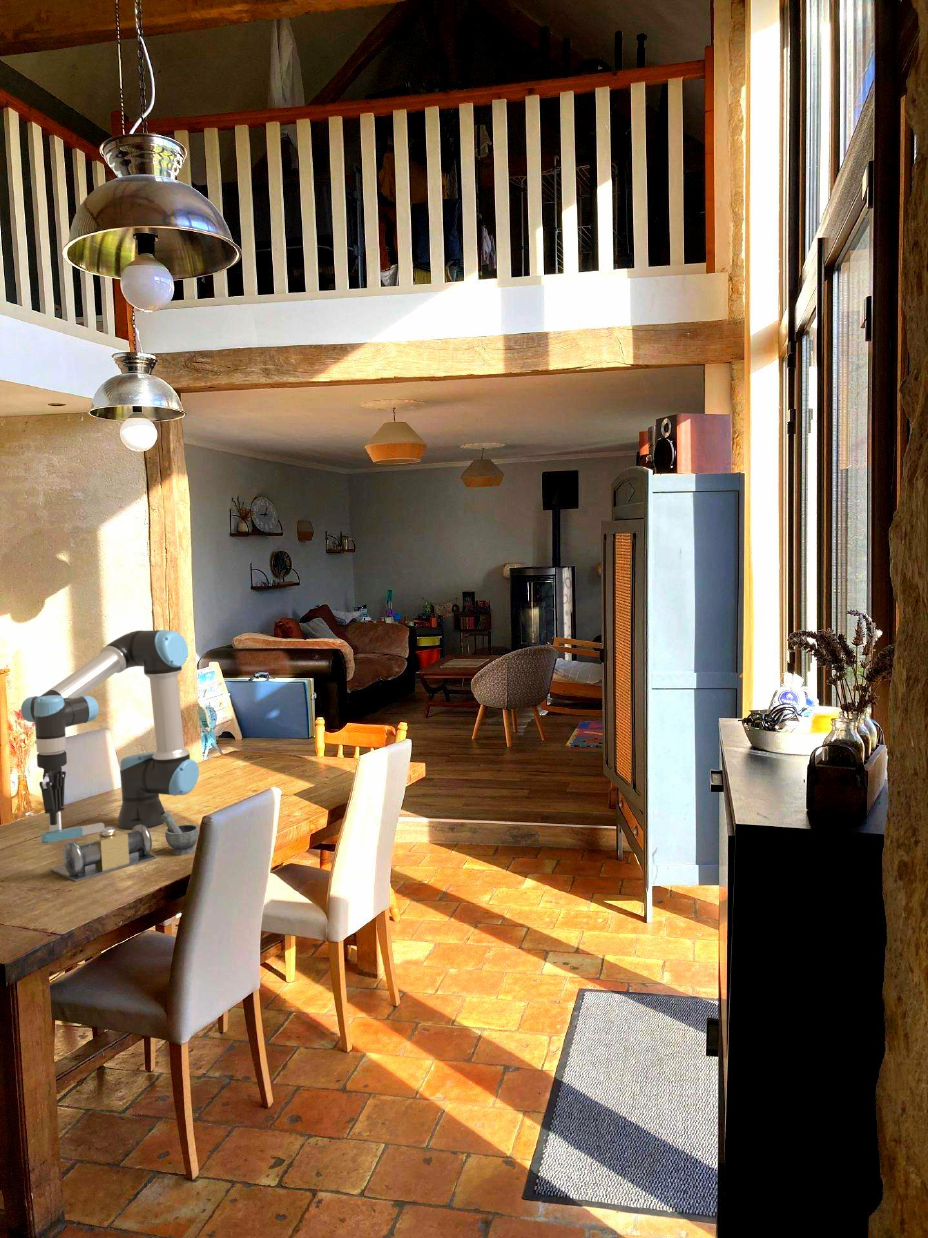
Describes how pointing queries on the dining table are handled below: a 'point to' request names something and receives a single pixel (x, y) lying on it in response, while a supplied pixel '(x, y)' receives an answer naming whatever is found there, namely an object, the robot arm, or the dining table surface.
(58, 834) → the lever
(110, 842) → the valve body
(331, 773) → the dining table surface
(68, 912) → the dining table surface
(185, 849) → the mortar and pestle
